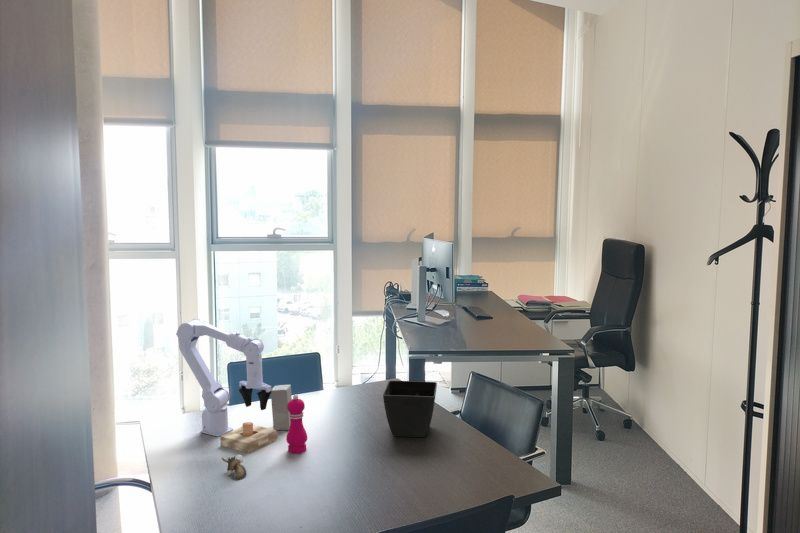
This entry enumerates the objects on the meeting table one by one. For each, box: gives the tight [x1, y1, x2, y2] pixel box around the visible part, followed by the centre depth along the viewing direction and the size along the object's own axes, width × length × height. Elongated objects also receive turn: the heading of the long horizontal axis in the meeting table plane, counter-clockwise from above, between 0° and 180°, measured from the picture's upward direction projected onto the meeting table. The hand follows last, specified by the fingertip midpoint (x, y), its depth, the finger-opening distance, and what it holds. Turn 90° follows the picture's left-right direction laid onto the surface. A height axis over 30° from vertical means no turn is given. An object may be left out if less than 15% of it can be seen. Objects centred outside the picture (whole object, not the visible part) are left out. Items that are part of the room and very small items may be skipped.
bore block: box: [219, 424, 278, 454], centre depth 217 cm, size 14×14×4 cm
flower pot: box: [382, 380, 438, 438], centre depth 225 cm, size 19×19×17 cm
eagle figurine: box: [221, 454, 247, 482], centre depth 191 cm, size 8×7×9 cm
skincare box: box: [270, 384, 293, 431], centre depth 232 cm, size 8×7×16 cm
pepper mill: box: [285, 394, 308, 455], centre depth 209 cm, size 7×7×20 cm
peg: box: [242, 421, 254, 437], centre depth 217 cm, size 4×4×6 cm
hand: (255, 407), depth 225 cm, fingers open, 7 cm apart
